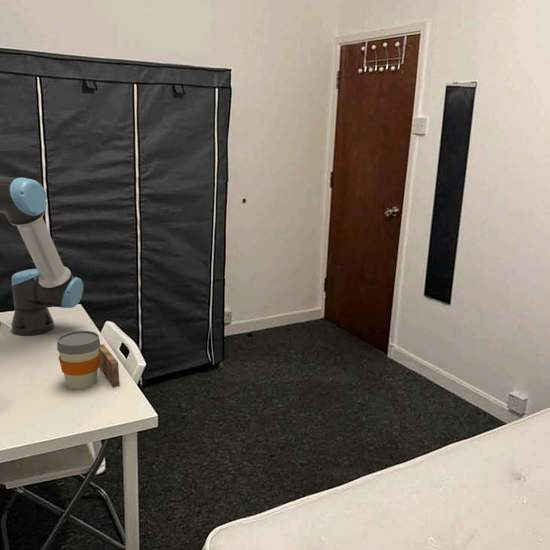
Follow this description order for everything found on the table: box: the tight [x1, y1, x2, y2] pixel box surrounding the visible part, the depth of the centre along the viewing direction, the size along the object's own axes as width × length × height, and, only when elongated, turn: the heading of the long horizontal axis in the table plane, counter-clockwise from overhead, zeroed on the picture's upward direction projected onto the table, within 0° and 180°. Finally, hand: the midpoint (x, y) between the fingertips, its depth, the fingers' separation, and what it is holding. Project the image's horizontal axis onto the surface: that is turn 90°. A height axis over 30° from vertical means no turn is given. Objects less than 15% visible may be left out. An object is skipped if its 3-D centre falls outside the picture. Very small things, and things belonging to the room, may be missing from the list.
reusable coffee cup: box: [56, 330, 101, 390], centre depth 169 cm, size 13×13×15 cm
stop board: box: [98, 343, 120, 388], centre depth 175 cm, size 16×2×8 cm, turn 32°
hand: (8, 330), depth 156 cm, fingers closed
